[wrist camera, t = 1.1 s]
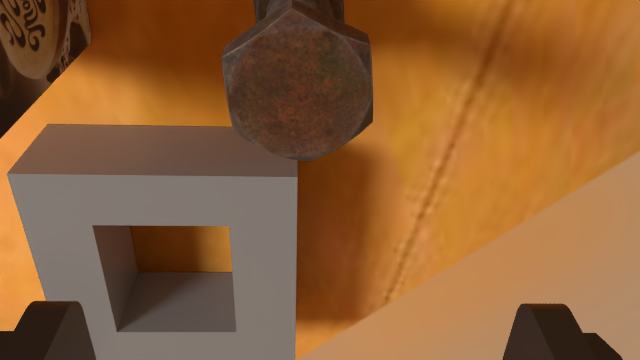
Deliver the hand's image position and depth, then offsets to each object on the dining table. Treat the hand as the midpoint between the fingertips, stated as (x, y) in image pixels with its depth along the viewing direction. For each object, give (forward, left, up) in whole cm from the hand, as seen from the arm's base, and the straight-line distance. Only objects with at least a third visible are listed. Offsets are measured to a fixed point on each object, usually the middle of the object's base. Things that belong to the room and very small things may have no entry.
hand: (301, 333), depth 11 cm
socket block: (+8, +17, -26) cm, 32 cm away
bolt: (0, 0, -26) cm, 26 cm away
